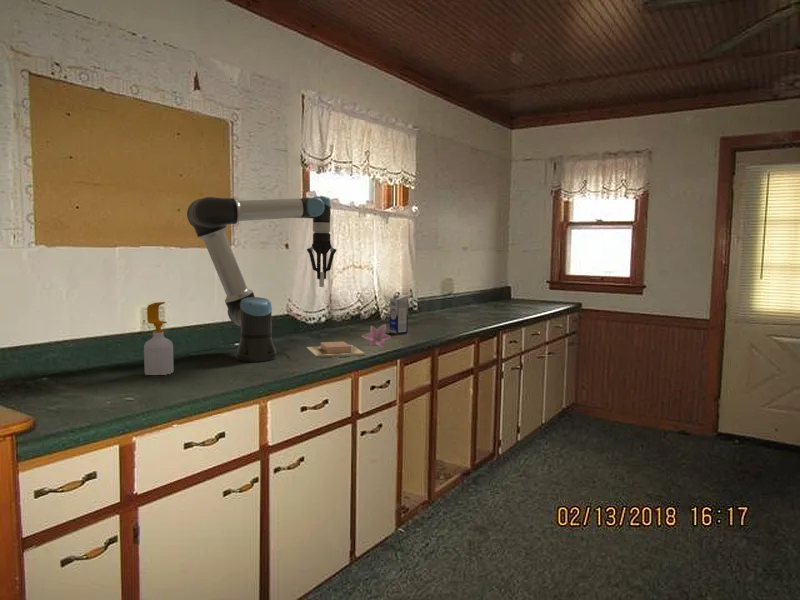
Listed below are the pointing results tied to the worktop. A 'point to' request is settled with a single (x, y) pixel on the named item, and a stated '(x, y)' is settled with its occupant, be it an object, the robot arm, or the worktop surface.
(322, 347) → the tile
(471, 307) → the worktop surface
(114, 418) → the worktop surface
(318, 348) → the board
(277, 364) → the worktop surface
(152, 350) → the soap bottle
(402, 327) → the milk carton
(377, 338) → the lily
